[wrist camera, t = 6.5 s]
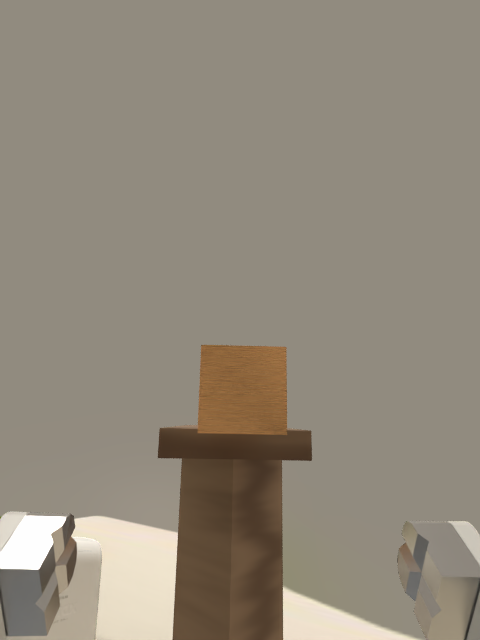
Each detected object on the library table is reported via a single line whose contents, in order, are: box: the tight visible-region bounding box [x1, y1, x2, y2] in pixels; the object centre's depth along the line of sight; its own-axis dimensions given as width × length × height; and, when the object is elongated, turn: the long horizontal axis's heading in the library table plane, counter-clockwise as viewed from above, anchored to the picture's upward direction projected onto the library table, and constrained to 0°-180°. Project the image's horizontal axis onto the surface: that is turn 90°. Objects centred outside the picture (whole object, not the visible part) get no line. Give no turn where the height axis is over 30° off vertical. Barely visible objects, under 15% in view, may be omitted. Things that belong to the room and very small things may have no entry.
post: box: [158, 425, 312, 640], centre depth 26 cm, size 17×17×26 cm
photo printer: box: [6, 537, 102, 640], centre depth 47 cm, size 10×4×12 cm, turn 127°
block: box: [198, 345, 287, 435], centre depth 24 cm, size 22×3×3 cm, turn 2°
